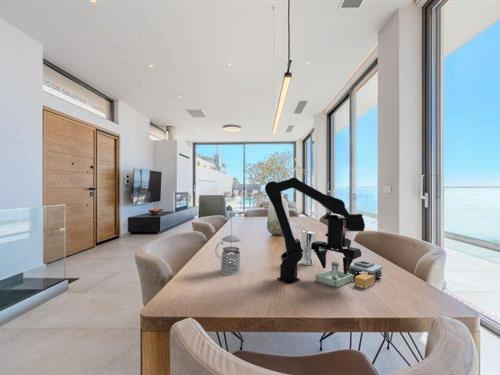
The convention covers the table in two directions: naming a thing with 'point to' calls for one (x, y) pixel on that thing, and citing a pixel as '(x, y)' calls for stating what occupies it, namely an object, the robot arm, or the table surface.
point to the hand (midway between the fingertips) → (334, 271)
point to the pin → (334, 271)
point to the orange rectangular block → (364, 280)
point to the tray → (327, 280)
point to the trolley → (365, 268)
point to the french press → (230, 256)
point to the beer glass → (308, 247)
